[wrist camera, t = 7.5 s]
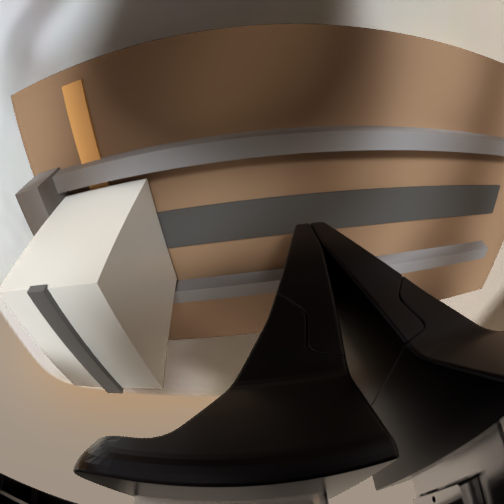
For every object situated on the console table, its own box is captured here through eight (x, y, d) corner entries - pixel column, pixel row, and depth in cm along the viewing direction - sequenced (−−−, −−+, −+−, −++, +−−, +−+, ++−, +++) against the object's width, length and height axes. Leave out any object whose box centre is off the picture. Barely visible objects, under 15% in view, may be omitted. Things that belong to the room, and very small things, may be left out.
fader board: (516, 72, 7) (563, 90, 5) (469, 271, 15) (494, 306, 12) (34, 87, 7) (-18, 107, 5) (124, 319, 15) (113, 367, 12)
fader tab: (146, 176, 8) (93, 286, 5) (177, 278, 11) (163, 394, 7) (65, 194, 8) (-7, 295, 5) (106, 286, 11) (74, 390, 7)
